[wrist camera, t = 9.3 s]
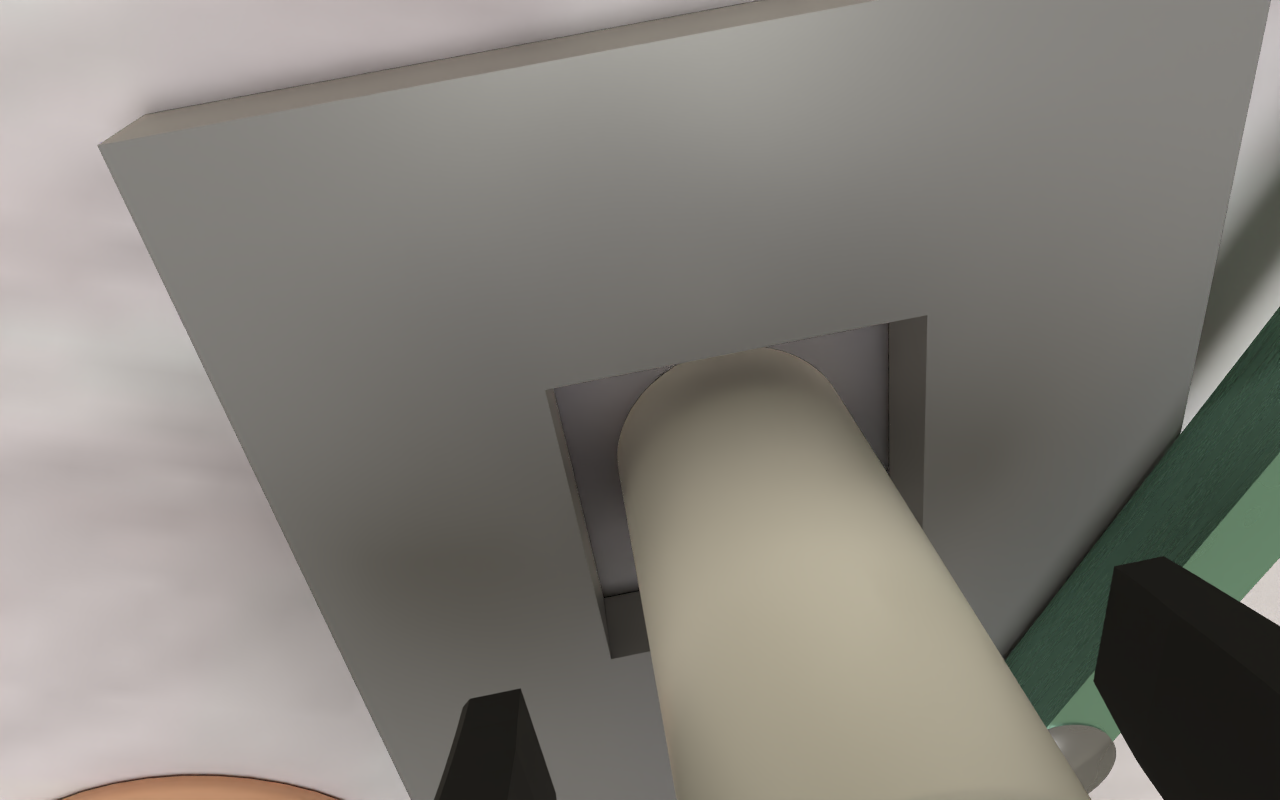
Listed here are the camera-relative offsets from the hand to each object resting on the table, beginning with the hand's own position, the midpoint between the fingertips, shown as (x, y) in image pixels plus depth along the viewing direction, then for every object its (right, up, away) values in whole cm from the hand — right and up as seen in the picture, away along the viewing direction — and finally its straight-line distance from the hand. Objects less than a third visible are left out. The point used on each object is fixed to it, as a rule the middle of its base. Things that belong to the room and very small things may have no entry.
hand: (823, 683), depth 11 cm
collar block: (-1, +3, +4) cm, 5 cm away
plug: (-1, +3, +4) cm, 5 cm away
